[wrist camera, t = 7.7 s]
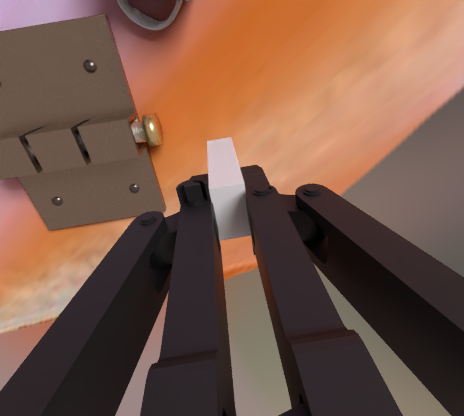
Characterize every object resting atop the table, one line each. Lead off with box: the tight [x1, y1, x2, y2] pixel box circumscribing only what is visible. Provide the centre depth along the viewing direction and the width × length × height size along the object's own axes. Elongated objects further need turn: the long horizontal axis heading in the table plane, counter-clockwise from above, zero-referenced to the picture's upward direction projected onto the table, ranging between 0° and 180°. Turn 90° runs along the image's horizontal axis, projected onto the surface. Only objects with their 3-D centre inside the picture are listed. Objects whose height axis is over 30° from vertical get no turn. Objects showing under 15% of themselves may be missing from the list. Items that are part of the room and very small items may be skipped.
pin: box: [25, 113, 163, 160], centre depth 30 cm, size 17×3×3 cm, turn 98°
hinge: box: [0, 14, 166, 230], centre depth 30 cm, size 16×22×4 cm
